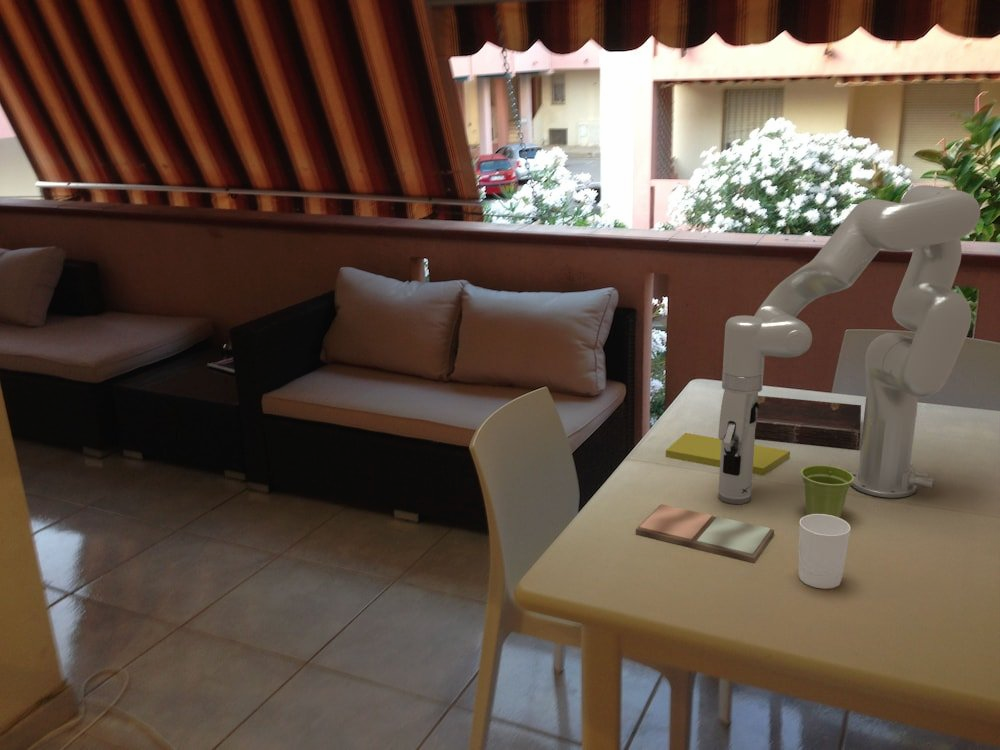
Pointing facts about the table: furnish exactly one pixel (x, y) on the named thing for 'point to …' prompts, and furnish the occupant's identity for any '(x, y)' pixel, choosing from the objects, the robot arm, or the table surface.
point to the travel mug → (740, 486)
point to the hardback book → (808, 422)
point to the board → (706, 532)
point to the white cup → (822, 550)
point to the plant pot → (825, 489)
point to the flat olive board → (710, 452)
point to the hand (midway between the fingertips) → (737, 467)
